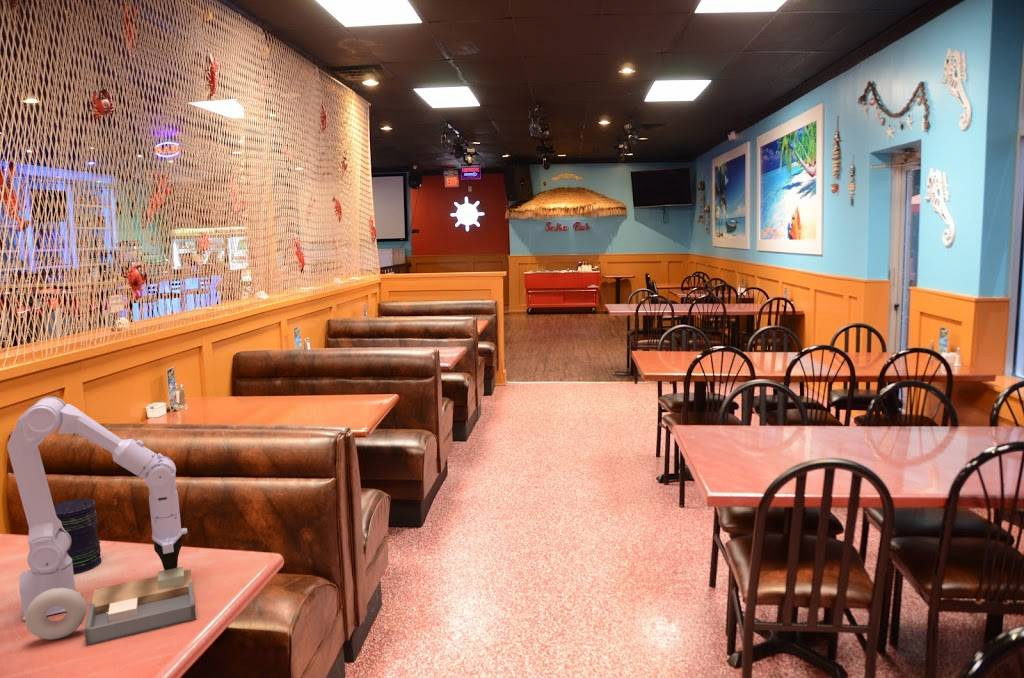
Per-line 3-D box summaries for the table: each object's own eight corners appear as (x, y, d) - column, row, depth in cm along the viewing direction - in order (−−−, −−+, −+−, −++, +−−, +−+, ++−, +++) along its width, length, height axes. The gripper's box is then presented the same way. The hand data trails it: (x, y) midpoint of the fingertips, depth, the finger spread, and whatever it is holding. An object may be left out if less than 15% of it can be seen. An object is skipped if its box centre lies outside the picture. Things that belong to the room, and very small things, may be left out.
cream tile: (109, 624, 141) (108, 614, 141) (111, 612, 146) (109, 603, 145) (137, 617, 143) (136, 608, 143) (138, 606, 148) (137, 597, 147)
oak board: (91, 617, 145) (90, 607, 145) (95, 598, 153) (94, 589, 153) (193, 594, 153) (192, 585, 153) (191, 577, 161) (190, 569, 161)
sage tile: (158, 589, 151) (158, 580, 151) (158, 580, 156) (158, 571, 156) (184, 584, 154) (183, 575, 153) (184, 575, 158) (183, 566, 158)
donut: (27, 649, 134) (20, 599, 132) (29, 640, 137) (23, 591, 135) (88, 635, 138) (82, 586, 137) (89, 626, 141) (84, 579, 140)
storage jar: (49, 579, 163) (41, 516, 161) (57, 562, 172) (50, 503, 170) (99, 570, 167) (92, 508, 165) (104, 554, 176) (97, 495, 174)
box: (86, 645, 134) (84, 630, 134) (91, 617, 145) (89, 604, 144) (196, 619, 142) (194, 605, 142) (193, 595, 153) (192, 581, 152)
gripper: (186, 520, 151) (192, 581, 153) (184, 500, 164) (189, 556, 166) (149, 527, 148) (155, 589, 150) (149, 506, 161) (155, 563, 163)
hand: (171, 572), depth 158 cm, fingers closed
